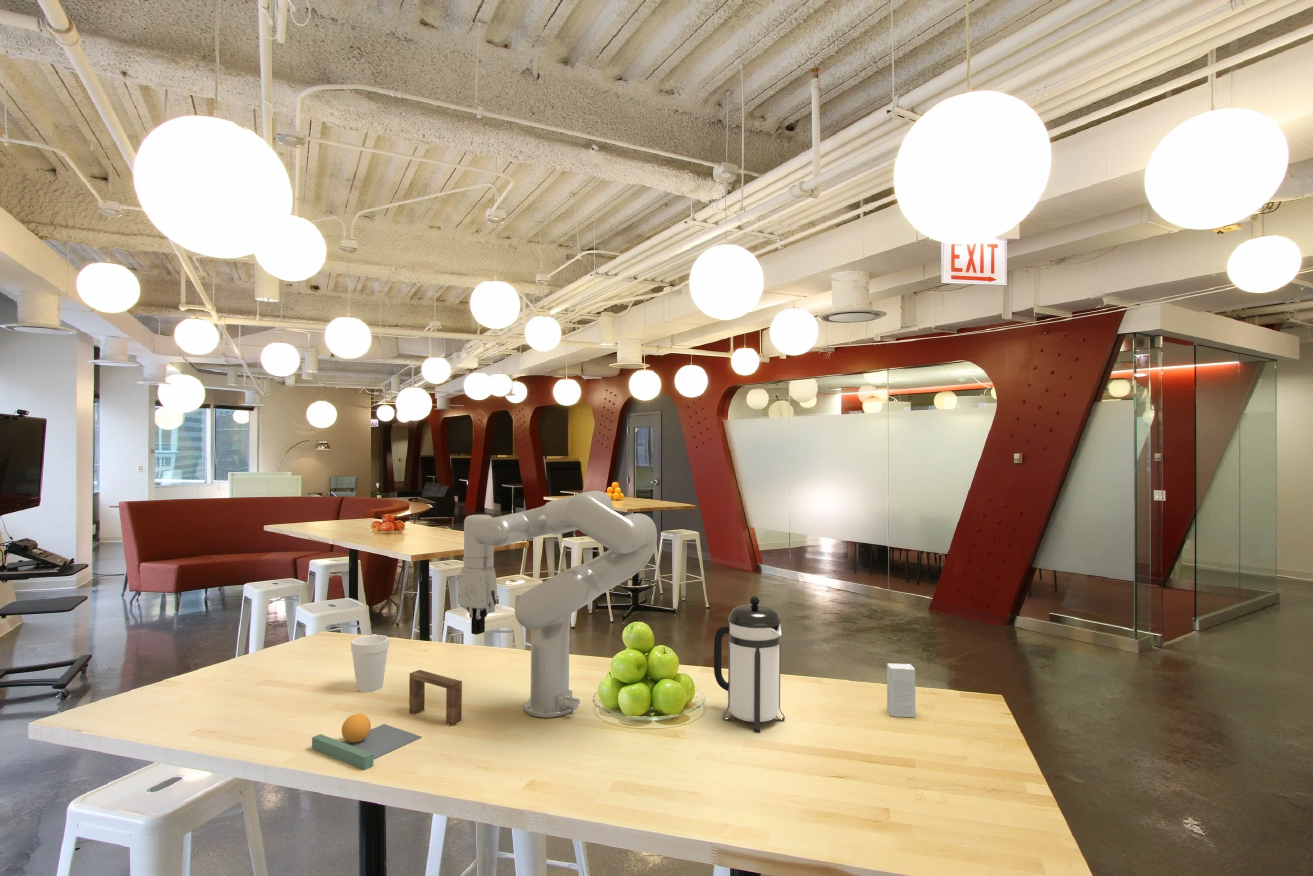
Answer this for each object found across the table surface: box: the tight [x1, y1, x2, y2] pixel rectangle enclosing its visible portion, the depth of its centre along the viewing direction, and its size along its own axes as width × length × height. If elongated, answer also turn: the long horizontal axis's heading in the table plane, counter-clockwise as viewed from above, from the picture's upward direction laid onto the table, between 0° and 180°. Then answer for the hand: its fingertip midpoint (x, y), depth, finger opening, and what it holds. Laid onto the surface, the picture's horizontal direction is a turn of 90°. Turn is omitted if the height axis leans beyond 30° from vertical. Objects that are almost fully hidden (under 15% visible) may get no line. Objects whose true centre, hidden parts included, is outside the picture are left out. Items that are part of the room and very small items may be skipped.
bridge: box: [408, 669, 463, 726], centre depth 168 cm, size 3×15×10 cm, turn 59°
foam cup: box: [350, 634, 390, 693], centre depth 187 cm, size 10×9×13 cm
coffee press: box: [713, 595, 786, 733], centre depth 169 cm, size 17×16×30 cm
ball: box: [341, 713, 372, 743], centre depth 154 cm, size 6×6×6 cm
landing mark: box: [340, 723, 422, 760], centre depth 154 cm, size 13×13×1 cm
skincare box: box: [886, 662, 916, 718], centre depth 173 cm, size 6×4×12 cm
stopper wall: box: [311, 733, 374, 771], centre depth 147 cm, size 18×2×2 cm, turn 59°
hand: (478, 633), depth 180 cm, fingers closed
